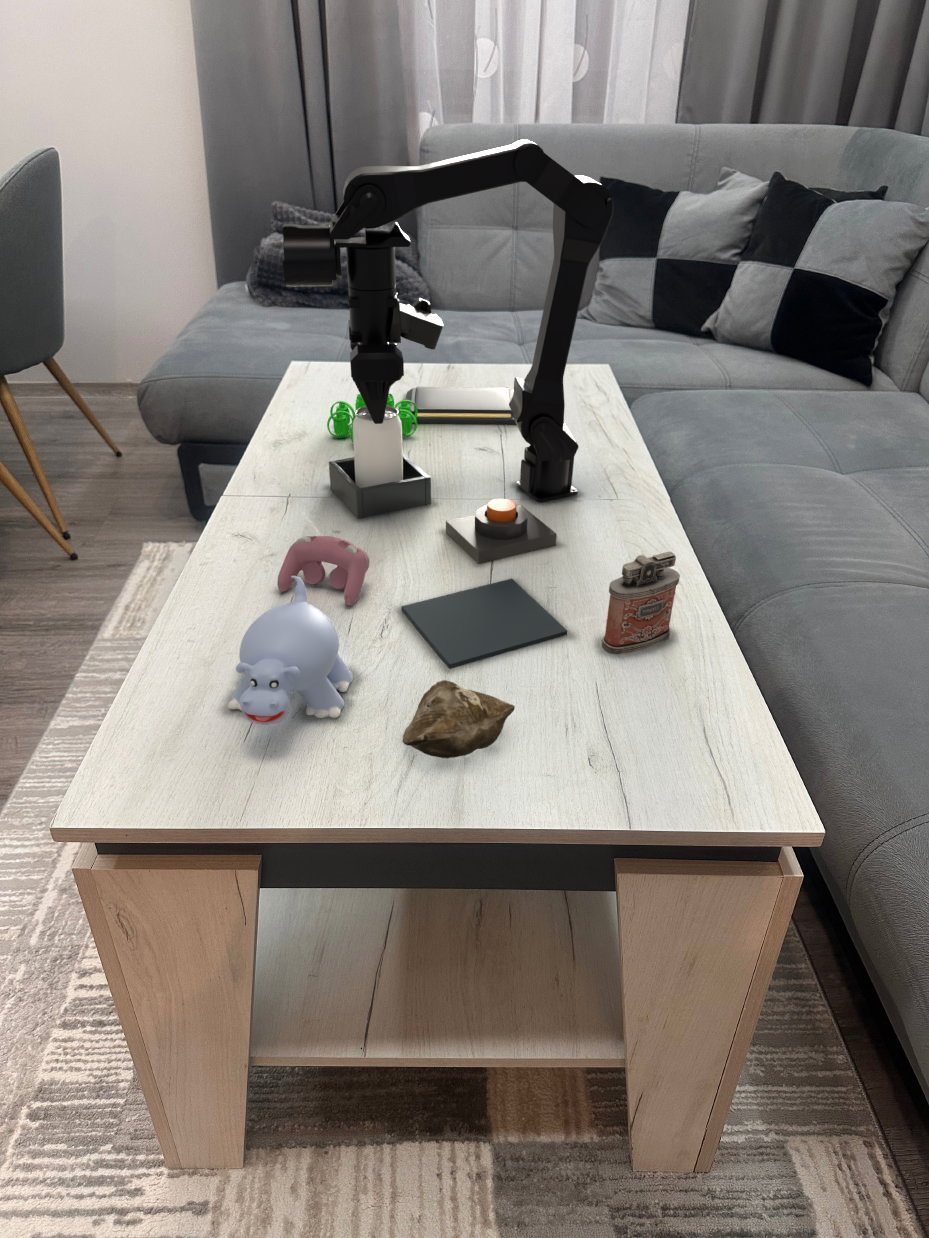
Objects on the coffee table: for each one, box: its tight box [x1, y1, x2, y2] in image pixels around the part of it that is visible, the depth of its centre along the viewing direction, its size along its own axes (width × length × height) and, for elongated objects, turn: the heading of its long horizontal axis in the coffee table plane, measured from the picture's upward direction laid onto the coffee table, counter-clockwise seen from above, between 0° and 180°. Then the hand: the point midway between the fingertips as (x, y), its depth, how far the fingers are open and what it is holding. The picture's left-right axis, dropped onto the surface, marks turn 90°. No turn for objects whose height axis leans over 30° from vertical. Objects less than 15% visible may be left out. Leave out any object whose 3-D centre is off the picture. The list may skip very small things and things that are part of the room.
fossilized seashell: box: [402, 679, 516, 759], centre depth 78 cm, size 8×7×10 cm
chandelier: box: [326, 393, 418, 445], centre depth 139 cm, size 15×15×7 cm
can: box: [352, 406, 404, 488], centre depth 118 cm, size 6×6×12 cm
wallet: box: [405, 386, 517, 425], centre depth 150 cm, size 20×2×15 cm
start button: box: [486, 498, 517, 522], centre depth 109 cm, size 4×4×2 cm
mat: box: [401, 578, 568, 670], centre depth 95 cm, size 14×12×1 cm
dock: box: [328, 451, 432, 520], centre depth 120 cm, size 11×11×4 cm
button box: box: [445, 504, 558, 565], centre depth 110 cm, size 11×9×4 cm
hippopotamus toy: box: [227, 575, 354, 726], centre depth 81 cm, size 11×15×10 cm
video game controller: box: [277, 535, 370, 606], centre depth 99 cm, size 10×5×7 cm, turn 71°
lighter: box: [601, 550, 681, 656], centre depth 90 cm, size 8×3×10 cm, turn 118°
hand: (377, 410), depth 114 cm, fingers open, 9 cm apart
